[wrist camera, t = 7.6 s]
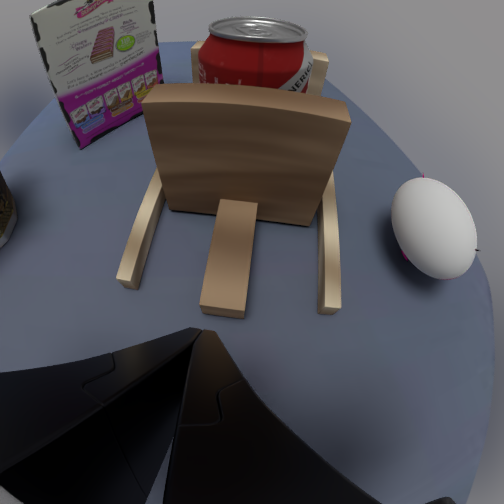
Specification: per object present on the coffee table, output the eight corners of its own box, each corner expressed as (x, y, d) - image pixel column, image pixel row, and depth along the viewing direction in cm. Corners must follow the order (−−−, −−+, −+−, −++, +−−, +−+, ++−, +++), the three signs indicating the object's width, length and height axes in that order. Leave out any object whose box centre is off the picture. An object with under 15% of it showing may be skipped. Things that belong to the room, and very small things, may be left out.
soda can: (226, 210, 20) (226, 46, 9) (194, 153, 22) (182, 21, 12) (303, 182, 21) (343, 43, 11) (263, 133, 24) (277, 13, 13)
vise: (332, 314, 16) (411, 245, 8) (124, 287, 16) (53, 203, 8) (321, 131, 25) (344, 54, 17) (189, 116, 25) (182, 37, 17)
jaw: (307, 325, 16) (378, 258, 8) (143, 303, 16) (71, 221, 8) (309, 203, 20) (345, 101, 12) (176, 188, 20) (155, 84, 12)
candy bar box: (149, 90, 28) (133, -27, 13) (168, 102, 26) (154, -32, 12) (69, 134, 24) (27, 14, 9) (79, 152, 22) (29, 13, 8)
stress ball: (460, 268, 19) (509, 229, 13) (409, 312, 17) (471, 275, 11) (414, 200, 22) (451, 151, 16) (355, 227, 20) (394, 166, 14)
